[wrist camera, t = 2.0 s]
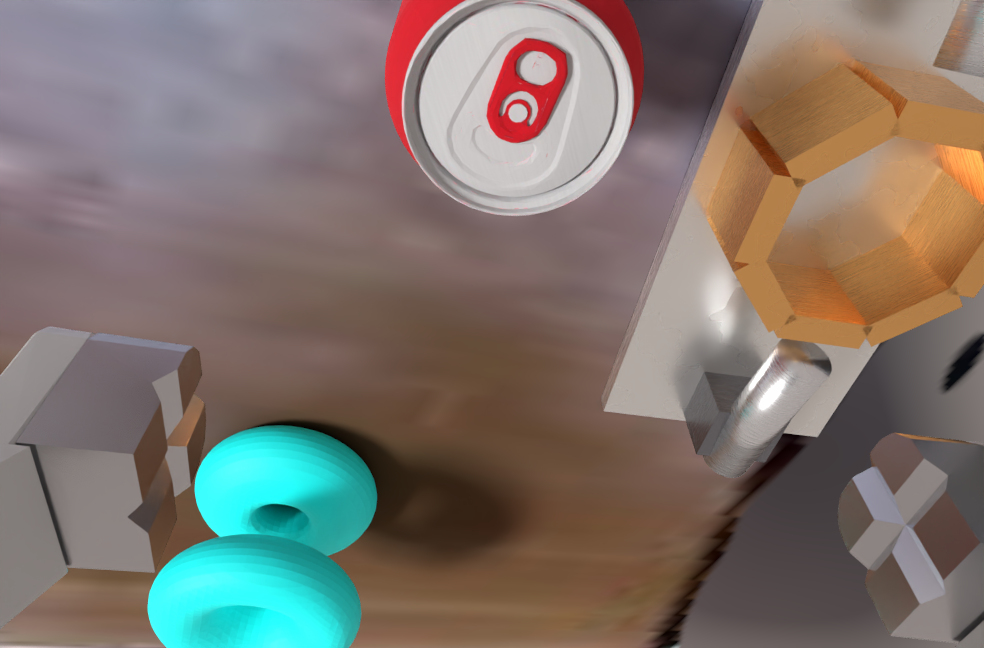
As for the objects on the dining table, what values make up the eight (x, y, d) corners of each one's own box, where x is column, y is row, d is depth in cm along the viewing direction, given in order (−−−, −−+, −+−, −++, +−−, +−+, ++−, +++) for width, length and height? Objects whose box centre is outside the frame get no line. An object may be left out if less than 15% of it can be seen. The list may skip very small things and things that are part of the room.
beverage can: (392, 37, 26) (345, 188, 17) (446, -151, 23) (424, -93, 13) (547, 95, 28) (584, 265, 18) (620, -73, 24) (713, 29, 15)
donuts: (334, 701, 37) (134, 675, 35) (359, 539, 45) (197, 509, 43) (377, 603, 32) (142, 563, 29) (398, 436, 39) (212, 396, 37)
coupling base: (862, -289, 21) (973, -306, 16) (1214, -198, 22) (1408, -190, 18) (600, 399, 38) (617, 487, 33) (809, 425, 39) (853, 512, 35)
